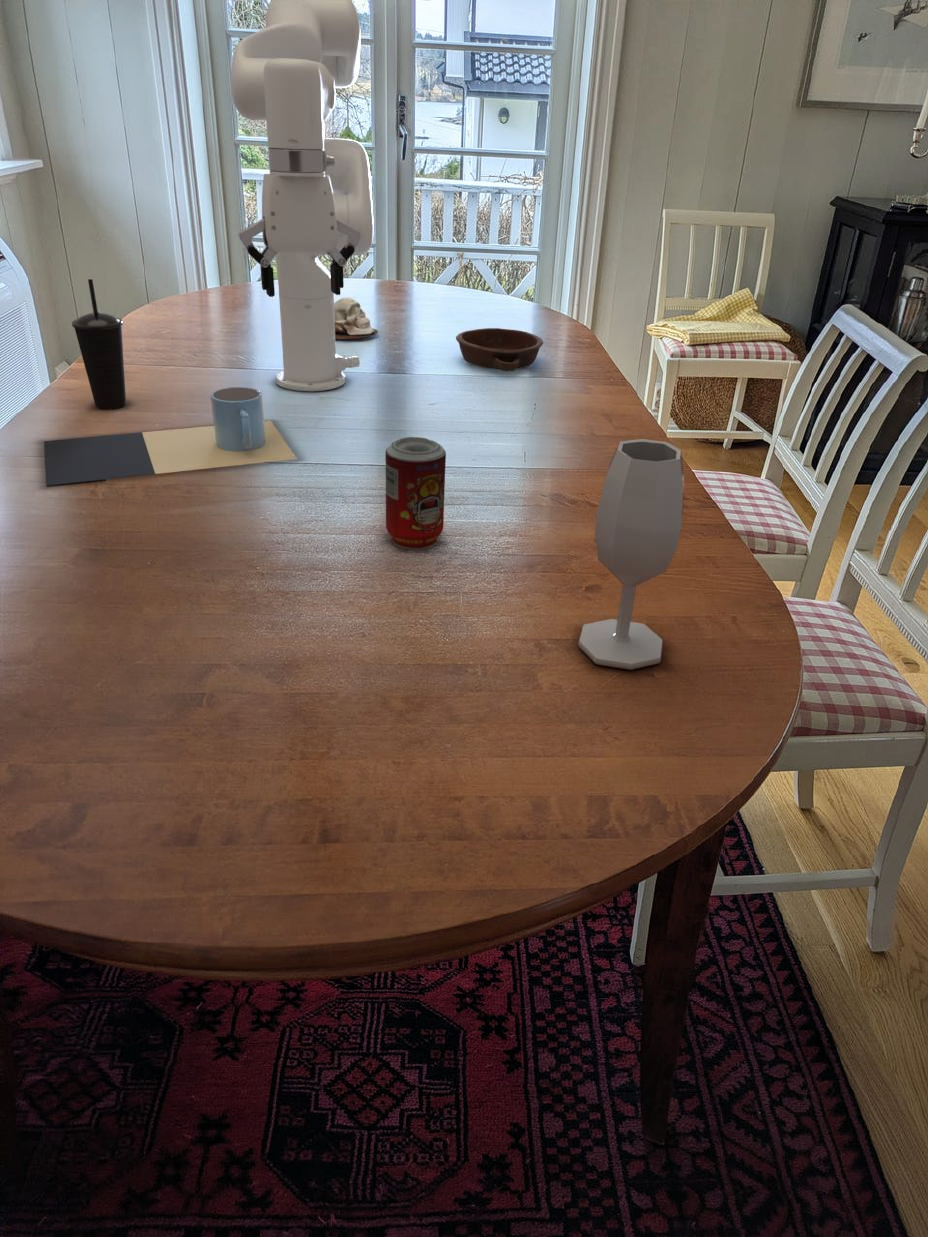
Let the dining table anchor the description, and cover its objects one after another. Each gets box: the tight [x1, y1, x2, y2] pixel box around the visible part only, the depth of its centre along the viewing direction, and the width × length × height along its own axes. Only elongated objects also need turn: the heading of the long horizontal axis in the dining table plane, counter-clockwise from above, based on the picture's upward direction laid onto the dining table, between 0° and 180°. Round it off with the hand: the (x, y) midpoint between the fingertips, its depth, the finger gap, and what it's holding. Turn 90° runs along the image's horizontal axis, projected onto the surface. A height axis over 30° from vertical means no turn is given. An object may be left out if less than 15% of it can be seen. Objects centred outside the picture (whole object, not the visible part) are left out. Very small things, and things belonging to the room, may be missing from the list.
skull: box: [334, 297, 379, 340], centre depth 197 cm, size 12×10×10 cm
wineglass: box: [577, 438, 685, 671], centre depth 86 cm, size 9×9×21 cm
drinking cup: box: [71, 278, 127, 411], centre depth 146 cm, size 8×8×20 cm
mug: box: [210, 386, 266, 451], centre depth 135 cm, size 10×7×8 cm
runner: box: [43, 420, 298, 488], centre depth 134 cm, size 34×18×1 cm, turn 113°
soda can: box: [384, 436, 447, 551], centre depth 108 cm, size 7×7×12 cm
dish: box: [455, 327, 544, 372], centre depth 182 cm, size 18×22×5 cm
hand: (303, 294), depth 133 cm, fingers open, 9 cm apart
